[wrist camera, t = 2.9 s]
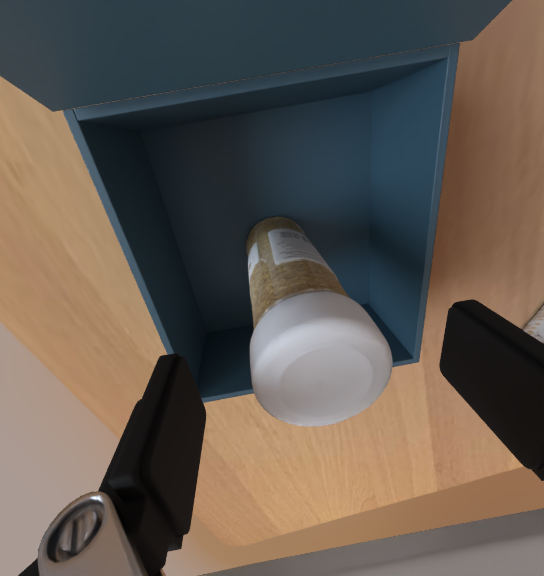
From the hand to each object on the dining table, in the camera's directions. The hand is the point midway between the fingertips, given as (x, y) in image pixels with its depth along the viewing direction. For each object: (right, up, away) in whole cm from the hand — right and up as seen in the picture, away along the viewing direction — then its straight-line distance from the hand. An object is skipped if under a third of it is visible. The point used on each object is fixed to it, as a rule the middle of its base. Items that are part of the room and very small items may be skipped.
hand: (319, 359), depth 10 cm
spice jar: (-1, +6, +11) cm, 12 cm away
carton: (-2, +7, +10) cm, 12 cm away
